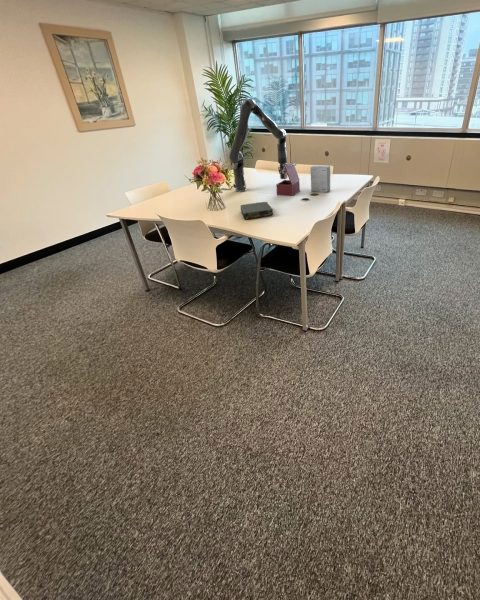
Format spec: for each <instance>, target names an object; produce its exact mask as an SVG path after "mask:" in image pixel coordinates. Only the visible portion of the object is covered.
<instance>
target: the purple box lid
mask: <svg viewBox="0 0 480 600" xmlns="http://www.w3.org/2000/svg"><path fill="white" fill-rule="evenodd" d="M287 164H288V165H286V166H284V167H285V169H286V172H287V177H288V180H290V183H291V185H292V184H294V183H296V182H297V181H299V182H300V177H299V174H298V171H297V169H296V166H297V163H294V161H293V162H290V163H287Z"/></svg>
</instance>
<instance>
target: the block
mask: <svg viewBox="0 0 480 600" xmlns="http://www.w3.org/2000/svg"><path fill="white" fill-rule="evenodd" d="M279 178H280V180H282V179H281V174H279ZM288 179H289V177H288V175H287V172H284V179H283V180H288Z"/></svg>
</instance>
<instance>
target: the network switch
mask: <svg viewBox="0 0 480 600" xmlns="http://www.w3.org/2000/svg"><path fill="white" fill-rule="evenodd" d="M273 210H274V209H272V207H271V205H270V204H269V203H268V201H261V202H260V201H259V202H252V203H246V204H244V203H243V204H241V205H240V211H241V215H242V217H243V219H244V220H245V221H247V220H248V219H254V218H261V217H267V216H274V211H273Z"/></svg>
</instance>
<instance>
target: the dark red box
mask: <svg viewBox="0 0 480 600" xmlns="http://www.w3.org/2000/svg"><path fill="white" fill-rule="evenodd" d="M275 186H276V195H277V196H286V197H293V196H295V195H296V194H298V193H299V192H301V188H300V186H301V185H300V180H299V181H297V182H296V183H294V184H292V185H291V183H290V180H289V179H282V180H281V181H279V182H278V183H276V185H275Z"/></svg>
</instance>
